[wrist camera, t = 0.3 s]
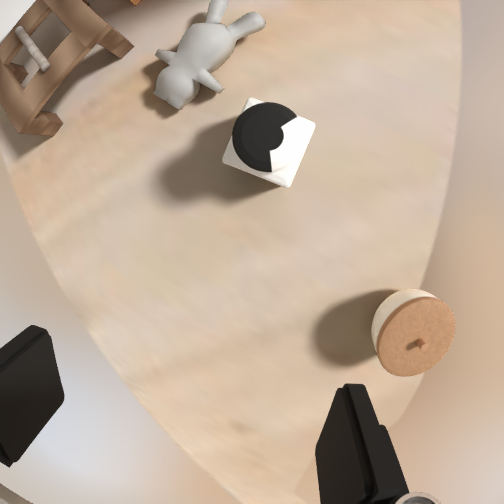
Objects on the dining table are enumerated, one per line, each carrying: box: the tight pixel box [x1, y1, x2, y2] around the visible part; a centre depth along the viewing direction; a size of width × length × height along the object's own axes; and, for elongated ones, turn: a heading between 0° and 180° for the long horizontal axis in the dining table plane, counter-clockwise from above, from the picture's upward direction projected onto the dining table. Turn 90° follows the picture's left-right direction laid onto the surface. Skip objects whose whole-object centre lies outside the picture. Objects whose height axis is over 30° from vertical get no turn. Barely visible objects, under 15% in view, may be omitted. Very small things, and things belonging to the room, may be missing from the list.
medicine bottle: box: [222, 98, 315, 188], centre depth 30 cm, size 7×7×12 cm
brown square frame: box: [0, 0, 134, 136], centre depth 29 cm, size 17×16×9 cm
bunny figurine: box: [153, 0, 266, 110], centre depth 31 cm, size 10×5×15 cm
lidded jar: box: [371, 289, 455, 376], centre depth 36 cm, size 11×11×9 cm
